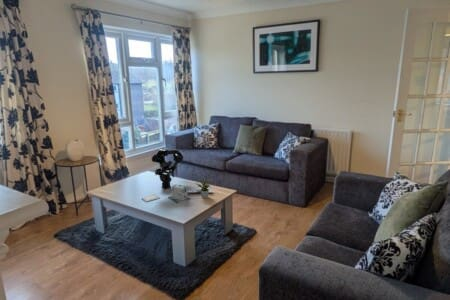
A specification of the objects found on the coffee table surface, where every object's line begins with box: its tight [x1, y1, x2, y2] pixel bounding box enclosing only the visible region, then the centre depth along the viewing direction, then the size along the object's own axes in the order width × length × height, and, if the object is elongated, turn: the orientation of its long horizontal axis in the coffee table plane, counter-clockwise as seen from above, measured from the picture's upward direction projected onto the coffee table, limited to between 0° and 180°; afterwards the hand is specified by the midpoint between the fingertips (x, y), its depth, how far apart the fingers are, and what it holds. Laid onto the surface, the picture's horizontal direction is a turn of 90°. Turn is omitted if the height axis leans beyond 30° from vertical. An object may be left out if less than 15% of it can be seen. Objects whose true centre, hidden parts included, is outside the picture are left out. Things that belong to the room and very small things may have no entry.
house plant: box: [195, 177, 213, 199], centre depth 244 cm, size 14×14×16 cm
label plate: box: [141, 193, 161, 203], centre depth 243 cm, size 12×9×1 cm
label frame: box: [167, 195, 192, 204], centre depth 242 cm, size 13×15×1 cm
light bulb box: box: [171, 183, 188, 201], centre depth 240 cm, size 11×7×11 cm, turn 71°
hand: (169, 178), depth 250 cm, fingers open, 8 cm apart
